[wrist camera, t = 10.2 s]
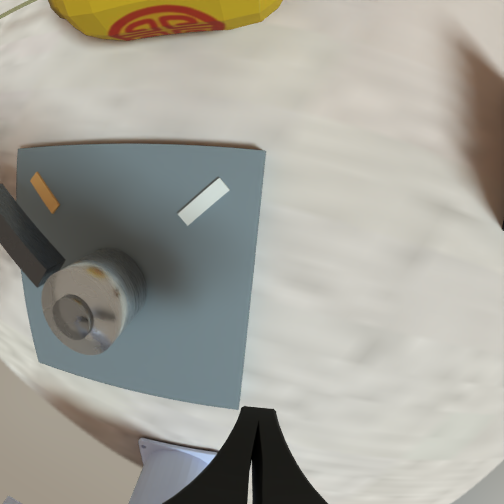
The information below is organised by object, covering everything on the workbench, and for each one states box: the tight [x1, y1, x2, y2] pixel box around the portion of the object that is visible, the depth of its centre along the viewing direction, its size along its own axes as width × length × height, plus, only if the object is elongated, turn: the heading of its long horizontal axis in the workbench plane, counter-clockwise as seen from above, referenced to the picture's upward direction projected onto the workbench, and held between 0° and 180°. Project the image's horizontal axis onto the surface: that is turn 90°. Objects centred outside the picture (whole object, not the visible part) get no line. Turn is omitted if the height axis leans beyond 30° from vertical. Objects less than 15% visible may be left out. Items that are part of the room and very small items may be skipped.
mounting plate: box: [16, 144, 266, 410], centre depth 20 cm, size 18×18×1 cm
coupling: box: [0, 184, 147, 355], centre depth 16 cm, size 12×5×5 cm, turn 47°
